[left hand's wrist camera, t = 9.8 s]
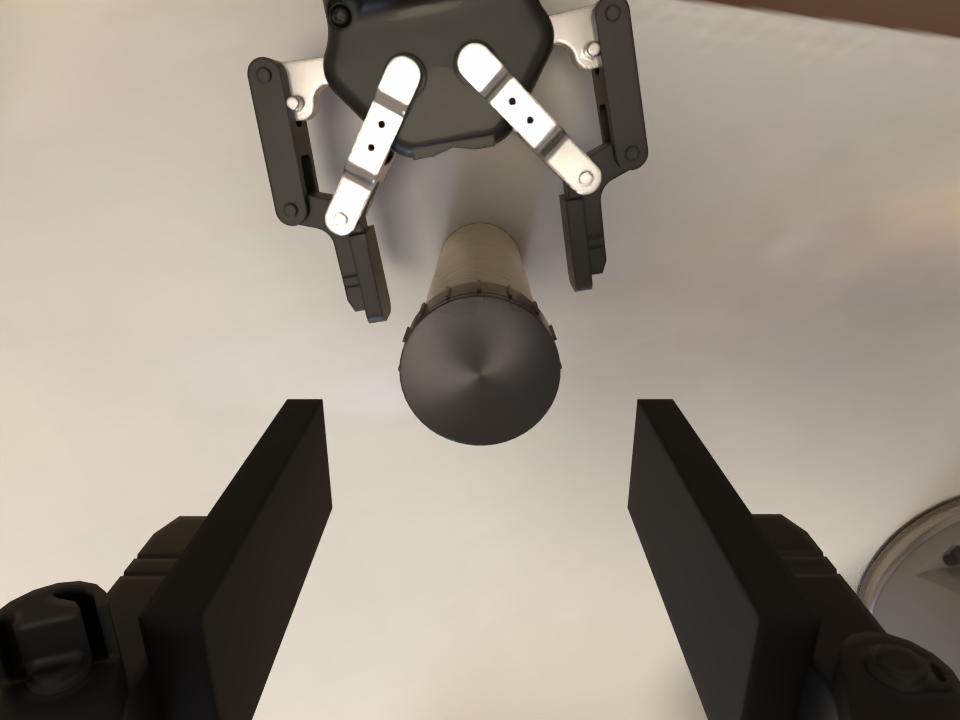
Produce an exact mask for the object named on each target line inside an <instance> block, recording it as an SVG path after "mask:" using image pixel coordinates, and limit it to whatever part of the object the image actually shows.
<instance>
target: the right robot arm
mask: <svg viewBox="0 0 960 720" xmlns="http://www.w3.org/2000/svg"><path fill="white" fill-rule="evenodd" d="M323 4H324V8H325V13H326V18H327V23H328V42H327V47H326V51H325V55H324V57H321V58H312V59H303V60H294V61H286V62H280V61H277V60H273V59H270V58H266V57H259V58H256V59H254V60H253V61H252V62H251V63H250V65H249V67H248V80H249V85H250V90H251V95H252V100H253V104H254V109H255V114H256V119H257V124H258V129H259V134H260V138H261V143H262V148H263V153H264V158H265V163H266V167H267V172H268V177H269V182H270V187H271V192H272V196H273V201H274V206H275V211H276V215H277V217H278V218H279V220H280V221H281V222H283V223H284V224H286V225H289V226H296V225H303V226H308V227H313V228H318V229H321V230H323V231H325V232H326V233H327V234H328V235H329V236H330V237H331V238H332V240H333V242H334V246H335V250H336V254H337V258H338V262H339V266H340V271H341V275H342V279H343V283H344V286H345V291H346V295H347V300H348V302H349V303H350V305H351V306H352V307H353V309H354V310H355V311H362V310H365V312H366V316H367V319H368V322H369V323H374V322H381V321H386V320H387V318H388V316H389V314H390V312H391V304H390V298H389V293H388V289H387V284H386V280H385V275H384V270H383V266H382V261H381V257H380V252H379V247H378V243H377V238H376V234H375V229H374V225H372V226H368V225H367V221H366V215H367V213H368V211H369V209H370V207H371V205H372V202H373V200H374V198H375V196H376V194H377V192H378V189H379V187H380V185H381V183H382V181H383V179H384V178H385V176H386V174H387V172H388V170H389V168H390V166H391V164H392V162H393V160H394V157H395V155H396V153H398V154H400V155H403V156H406V157H409V158H413V159H414V160H416V159H422V158H427V157H433V156H436V155H438V154H440V153H442V152H444V151H446V150H448V149H450V148H453V147H458V148H467V149H480V148H486V147H492V146H495V144H497V143H499V142H500V141H502V140H503V139H505V138H506V137H507V136H508V135H509V134H510V133H511V131H512V130H513V131H514V132H515V133H516V134H517V135H518V136H519V137H520V138H521V139H522V140H523V141H524V142H525V143H526V144H527V145H528V146H529V147H530V148H531V149H532V150H533V151H534V152H535V153H536V154H537V155H538V156H539V157H540V158H541V159H542V160H543V161H544V162H545V163H546V164H547V165H548V166H549V167H550V168H551V169H552V170H553V171H554V172H555V173H556V174H557V175H558V176H559V177H560V179H561V180H562V181H563V185H564V194H563V195H559V198H560V206H561V215H562V223H563V232H564V240H565V249H566V257H567V266H568V274H569V279H570V283H571V285H572V287H573V289H574V291H575V292H576V291H582V290H589V289H592V275H593V274H599V273H603V270H604V266H605V263H606V252H605V241H604V231H603V221H602V211H601V193H602V191H603V189H604V187H605V186H606V184H607V183H608V182H610V181H611V180H613V179H614V178H616V177H618V176H620V175H622V174H623V173H625V172H627V171H629V170H635V169H638V168H639V167H641V166H642V165H643V164H644V163H645V161H646V159H647V156H648V146H647V138H646V131H645V123H644V115H643V108H642V100H641V92H640V85H639V77H638V69H637V62H636V54H635V47H634V39H633V31H632V24H631V16H630V9H629V5H628V3H627V1H626V0H599V1H598V2H597V3H596V4H594V5H591V6H587V7H583V8H579V9H575V10H571V11H568V12H564V13H560V14H556V15H552V16H548V14H547V13H546V11H545V10H544V9H543V7H542V6H541V4H540V2H539V0H323ZM553 45H558V46H562V47H564V48H565V49H566V50H567V51H568V52H569V54H570V55H571V59H572V62H573V64H574V65H575V66H576V67H577V68H578V69H580V70H583V71H589V70H592V77H593V83H594V90H595V96H596V103H597V109H598V116H599V122H600V129H601V135H602V142H603V144H601V145H600V146H598V147H596V148H594V149H593V150H591V151H589V152H587V153H586V154H585V153H584V152H583V151H582V150H581V149H580V148H579V147H578V146H577V144H576V143H575V142H574V141H573V140H572V139H571V138H570V137H569V136H568V135H567V134H566V133H565V131H564V130H563V129H562V127H561V126H560V125H559V124H558V123H557V122H556V121H555V120H554V119H553V118H552V117H551V116H550V115H549V114H548V113H547V111H546V110H545V109H544V108H543V107H542V106H541V105H540V104H539V103H538V102H537V101H536V100H535V99H534V98H533V97H532V96H531V95H530V94H531V92H532V90H533V88H534V86H535V84H536V82H537V80H538V78H539V76H540V74H541V72H542V70H543V68H544V66H545V64H546V62H547V60H548V58H549V56H550V54H551V51H552V48H553ZM328 86H330V88H331V89H332V90H333V91H334V92H335V93H336V94H337V95H338V96H339V97H340V98H341V99H342V100H343V101H344V102H345V103H346V104H347V105H348V106H349V107H350V108H351V109H352V110H353V111H354V112H355V113H356V114H357V115H358V116H359V117H360V118H361V119H362V120H363V121H364V123H363V125H362V127H361V130H360V132H359V134H358V136H357V139H356V141H355V143H354V145H353V148H352V150H351V152H350V154H349V157H348V159H347V161H346V164H345V167H344V173H343V175H342V178H341V180H340V182H339V184H338V187H337V189H336V191H335V193H334V195H332V194H327V193H322V192H319V188H318V182H317V177H316V171H315V166H314V160H313V155H312V149H311V144H310V138H309V133H308V127H307V122H306V120H310V119H312V118H314V117H315V116H316V114H317V113H318V110H319V97H320V94H321V92H322V91H323V90H324V89H325V88H326V87H328Z"/></svg>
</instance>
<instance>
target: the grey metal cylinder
mask: <svg viewBox="0 0 960 720" xmlns="http://www.w3.org/2000/svg"><path fill="white" fill-rule="evenodd" d="M477 280H481V282H490V283H496V284H500V285H504V286H508V285H511V287H512V289H514V290H516V291H518V292H519V293H521V294H523V295H524V296H525V297H527V298H528V299H530V300H531V301H532V302H533V297H532V294H531V290H530V287H529V284H528V280H527V277H526V273H525V270H524V267H523V263H522V260H521V256H520V253H519V250H518V247H517V245H516V244H515V242H514V240H513V239H512V238H511V237H510V236H509V235H508V234H507V233H506V232H505V231H504V230H502V229H500V228H499V227H496V226H494V225H491V224H485V223H475V224H469V225H466V226H464V227H461V228H460V229H458V230H456V231H455V232H454V233H453V234H452V235H451V236H450V237H449V238H448V239H447V240H446V242H445V244H444V245H443V247H442V250H441V253H440V256H439V260H438V263H437V267H436V270H435V273H434V277H433V280H432V283H431V287H430V290H429V294H428V297H427V300H426V303H427V302H428V301H429V300H431V299H432V298H433V297H434V296H436V295H437V294H439V293H441V292H442V291H444V290H446V288H447V286H449V285H450V287H453V286H456V285H460V284H464V283H470V282H477Z"/></svg>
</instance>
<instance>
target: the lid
mask: <svg viewBox="0 0 960 720" xmlns="http://www.w3.org/2000/svg"><path fill="white" fill-rule="evenodd" d="M554 340H557V338H556V335H555V332H554V330H553V327H552V325H549V324H548V322H547V320H546V319H545V317H544V315H543V314H542V312H541V311H540V310H539V309H538V306H537V303H536V302H535V301H533V302H532V301H531V300H530V299H528V298H527V297H525V296H524V295H523V294H521V293H519V292H518V291H516V290H514V289H512V287H511V285H508V286H504V285H500V284H496V283H490V282H481V280H477V282H470V283H464V284H460V285H456V286H453V287H450V285H449V286H447V288H446V290H444V291H442V292H441V293H439V294H437V295H436V296H434V297H433V298H432V299H431V300H429V301H428V302H427V303H425V302H424V303H423V304H422V306H421V309H420V311H419V312H418V314H417V315H416V317H415V319H414V320H413V322H412V324H411V327H407V330H406V332H405V335H404V338H403V342H405V344H404V347H403V350H402V354H401V359H400V365H399V368H398V370H399V371H400V382H401V387H402V391H403V394H404V396H405V399H406V401H407V403H408V405H409V407H410V408H411V410H412V411H413V413H414V414H415V415H416V417H417V418H418V419H419V420H420V421H421V422H422V423H423V424H424V425H425V426H427V427H428V428H429V429H430V430H432V431H433V432H435V433H436V434H438V435H440V436H442V437H444V438H446V439H448V440H451V441H454V442H457V443H462V444H466V445H476V446H477V445H493V444H498V443H502V442H506V441H509V440H511V439H514V438H516V437H518V436H520V435H522V434H524V433H525V432H527V431H528V430H530V429H531V428H532V427H533V426H535V425H536V424H537V423H538V422H539V421H540V420H541V419H542V418H543V416H544V415H545V414H546V413H547V411H548V410H549V408H550V407H551V405H552V403H553V401H554V399H555V397H556V394H557V391H558V387H559V382H560V370H561V369H562V365H561V362H560V358H559V354H558V350H557V347H556V344H555V341H554Z"/></svg>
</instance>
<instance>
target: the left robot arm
mask: <svg viewBox="0 0 960 720" xmlns="http://www.w3.org/2000/svg"><path fill="white" fill-rule="evenodd" d="M331 510H332V498H331V487H330V477H329V466H328V455H327V444H326V433H325V422H324V411H323V400H322V399H287V401H286V402H285V403H284V405H283V406H282V408H281V409H280V411H279V412H278V414H277V415H276V417H275V418H274V419H273V421H272V422H271V424H270V425H269V427H268V428H267V430H266V431H265V433H264V434H263V436H262V437H261V438H260V440H259V441H258V443H257V444H256V446H255V447H254V449H253V450H252V452H251V453H250V454H249V456H248V457H247V459H246V460H245V462H244V463H243V465H242V466H241V468H240V469H239V470H238V472H237V473H236V475H235V476H234V478H233V479H232V481H231V482H230V484H229V485H228V486H227V488H226V489H225V491H224V492H223V494H222V495H221V497H220V498H219V500H218V501H217V503H216V504H215V505H214V507H213V508H212V510H211V511H210V513H209V514H208V516H179V517H178V518H176V519H175V520H173V521H172V522H170V523H169V524H167V525H166V526H165V527H163V528H162V529H160V530H159V531H157V532H156V533H154V534H153V536H152V537H151V538H150V539H149V541H148V542H147V543H146V544H145V546H144V547H143V548H142V550H141V551H140V552H139V553H138V557H137V559H134V560H133V561H132V562H131V564H130V565H129V566H128V567H127V569H126V570H125V571H124V576H120V578H119V579H118V580H117V581H116V583H115V584H114V585H113V586H112V588H111V589H110V590H109V592H108V593H106V592H105V591H104V590H103V589H102V588H100V587H99V586H98V585H97V584H93V583H87V582H82V581H74V582H63V583H56V584H53V585H49V586H46V587H43V588H39V589H36V590H33V591H31V592H29V593H27V594H25V595H23V596H21V597H19V598H17V599H15V600H13V601H11V602H9V603H8V604H7V605H5V606H4V607H3V608H1V609H0V720H252V718H253V715H254V713H255V710H256V708H257V705H258V702H259V700H260V697H261V694H262V692H263V689H264V686H265V684H266V681H267V679H268V676H269V673H270V671H271V668H272V665H273V663H274V660H275V657H276V655H277V652H278V650H279V647H280V644H281V642H282V639H283V636H284V634H285V631H286V628H287V626H288V623H289V621H290V618H291V615H292V613H293V610H294V607H295V605H296V602H297V600H298V597H299V594H300V592H301V589H302V586H303V584H304V581H305V578H306V576H307V573H308V571H309V568H310V565H311V563H312V560H313V557H314V555H315V552H316V549H317V547H318V544H319V542H320V539H321V536H322V534H323V531H324V528H325V526H326V523H327V520H328V518H329V515H330V513H331ZM628 510H629V513H630V515H631V518H632V520H633V523H634V526H635V528H636V531H637V534H638V536H639V539H640V542H641V544H642V547H643V549H644V552H645V555H646V557H647V560H648V563H649V565H650V568H651V571H652V573H653V576H654V578H655V581H656V584H657V586H658V589H659V592H660V594H661V597H662V600H663V602H664V605H665V607H666V610H667V613H668V615H669V618H670V621H671V623H672V626H673V629H674V631H675V634H676V636H677V639H678V642H679V644H680V647H681V650H682V652H683V655H684V657H685V660H686V663H687V665H688V668H689V671H690V673H691V676H692V679H693V681H694V684H695V686H696V689H697V692H698V694H699V697H700V700H701V702H702V705H703V708H704V710H705V713H706V715H707V718H708V720H960V499H958V500H955V501H952V502H950V503H948V504H945V505H943V506H941V507H939V508H937V509H935V510H933V511H931V512H929V513H927V514H926V515H924V516H922V517H921V518H919V519H917V520H916V521H915V522H913V523H912V524H910V525H909V526H908V527H906V528H905V529H904V530H903V531H902V532H900V533H899V534H898V535H897V536H896V537H895V538H894V539H893V540H892V541H891V542H890V543H889V544H888V545H887V546H886V547H885V548H884V549H883V550H882V551H881V553H880V554H879V555H878V557H877V558H876V559H875V561H874V562H873V564H872V565H871V567H870V569H869V570H868V572H867V574H866V576H865V578H864V580H863V582H862V585H861V588H860V591H859V594H858V596H857V595H856V594H855V592H854V591H853V590H852V589H851V587H850V586H849V585H848V583H847V582H846V581H845V580H844V578H843V577H842V576H841V575H840V574H837V570H836V568H835V567H834V566H833V564H832V563H831V562H830V561H829V559H828V558H827V557H824V556H823V552H822V551H821V549H820V548H819V547H818V546H817V544H816V543H815V542H814V540H813V539H812V538H811V537H810V535H809V534H808V533H807V532H806V531H805V530H803V529H802V528H800V527H799V526H797V525H796V524H794V523H793V522H792V521H790V520H789V519H787V518H786V517H784V516H783V515H781V514H751V513H750V511H749V510H748V508H747V507H746V505H745V504H744V503H743V501H742V500H741V498H740V497H739V495H738V494H737V492H736V491H735V489H734V488H733V486H732V485H731V484H730V482H729V481H728V479H727V478H726V476H725V475H724V473H723V472H722V470H721V469H720V468H719V466H718V465H717V463H716V462H715V460H714V459H713V457H712V456H711V454H710V453H709V452H708V450H707V449H706V447H705V446H704V444H703V443H702V441H701V440H700V438H699V437H698V436H697V434H696V433H695V431H694V430H693V428H692V427H691V425H690V424H689V422H688V421H687V419H686V418H685V417H684V415H683V414H682V412H681V411H680V409H679V408H678V406H677V405H676V403H675V402H674V401H673V399H638V400H637V411H636V422H635V433H634V444H633V455H632V466H631V477H630V487H629V498H628Z"/></svg>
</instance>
